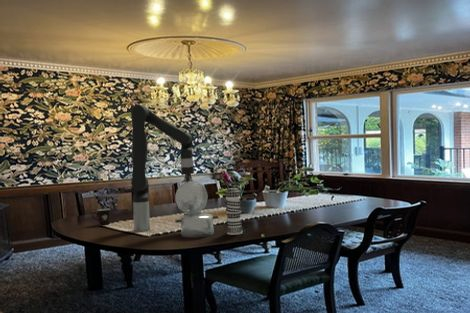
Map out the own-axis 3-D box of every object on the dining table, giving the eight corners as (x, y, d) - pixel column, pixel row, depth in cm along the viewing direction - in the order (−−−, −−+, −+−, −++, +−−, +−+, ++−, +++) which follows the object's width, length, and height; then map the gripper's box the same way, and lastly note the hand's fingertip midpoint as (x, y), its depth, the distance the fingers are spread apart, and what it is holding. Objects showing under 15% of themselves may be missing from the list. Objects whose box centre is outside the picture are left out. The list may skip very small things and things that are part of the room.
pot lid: (174, 182, 251) (173, 182, 253) (176, 217, 251) (175, 216, 253) (206, 180, 257) (205, 179, 259) (208, 214, 257) (207, 213, 259)
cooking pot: (179, 239, 233) (178, 220, 232) (173, 233, 250) (172, 216, 249) (222, 234, 240) (221, 216, 240) (213, 228, 257) (212, 212, 257)
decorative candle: (233, 230, 249) (231, 187, 248) (246, 232, 243) (244, 187, 242) (223, 233, 242) (220, 188, 241) (235, 235, 236) (233, 189, 235)
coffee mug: (113, 223, 294) (112, 208, 293) (108, 225, 285) (107, 210, 285) (97, 223, 295) (96, 208, 295) (91, 226, 286) (90, 211, 286)
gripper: (178, 166, 265) (180, 194, 266) (183, 166, 253) (185, 196, 253) (190, 165, 268) (192, 193, 268) (196, 165, 255) (198, 195, 256)
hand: (189, 195), depth 261 cm, fingers closed
